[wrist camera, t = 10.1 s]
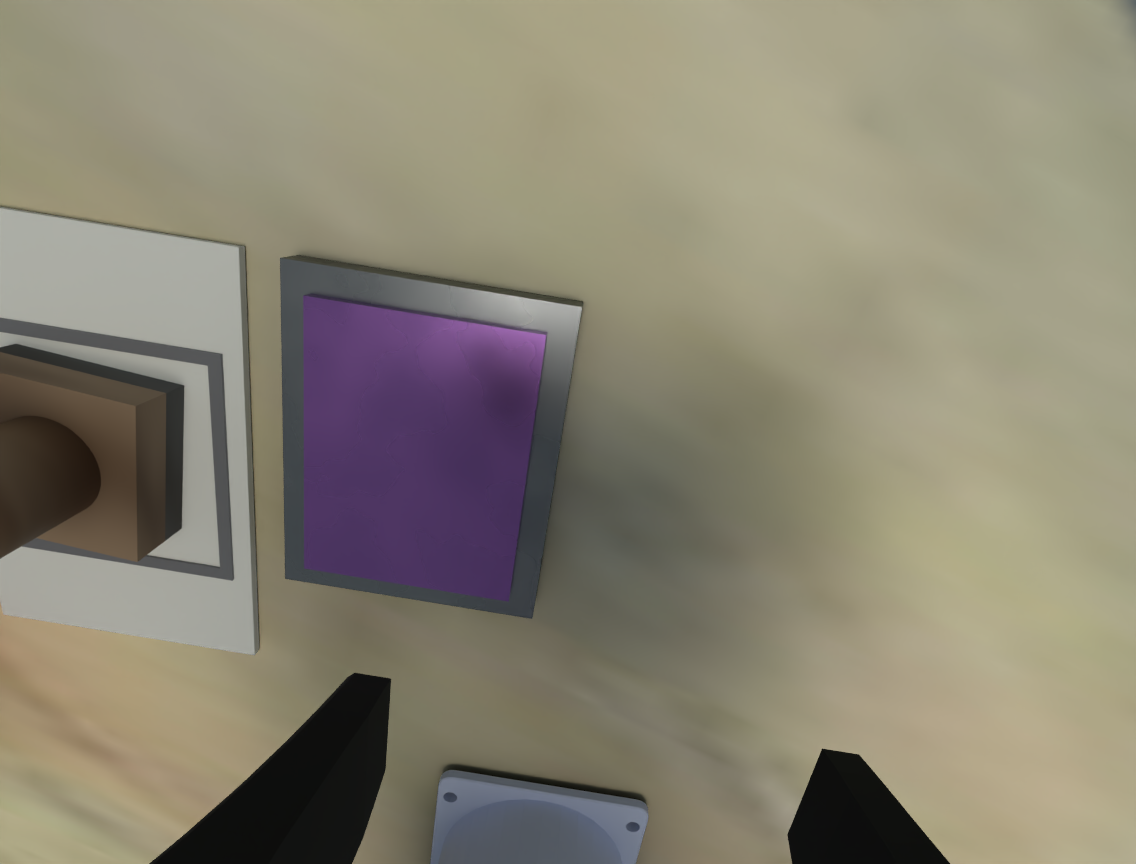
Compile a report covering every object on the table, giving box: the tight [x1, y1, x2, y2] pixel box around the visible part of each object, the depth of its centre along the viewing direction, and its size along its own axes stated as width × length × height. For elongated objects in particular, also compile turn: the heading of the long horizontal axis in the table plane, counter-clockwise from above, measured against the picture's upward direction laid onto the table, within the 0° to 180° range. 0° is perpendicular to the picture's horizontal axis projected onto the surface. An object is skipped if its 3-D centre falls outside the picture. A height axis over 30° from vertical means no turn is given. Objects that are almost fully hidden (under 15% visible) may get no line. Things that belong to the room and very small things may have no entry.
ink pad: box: [280, 255, 583, 619], centre depth 18 cm, size 10×8×1 cm
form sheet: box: [0, 207, 259, 655], centre depth 19 cm, size 14×9×1 cm, turn 171°
